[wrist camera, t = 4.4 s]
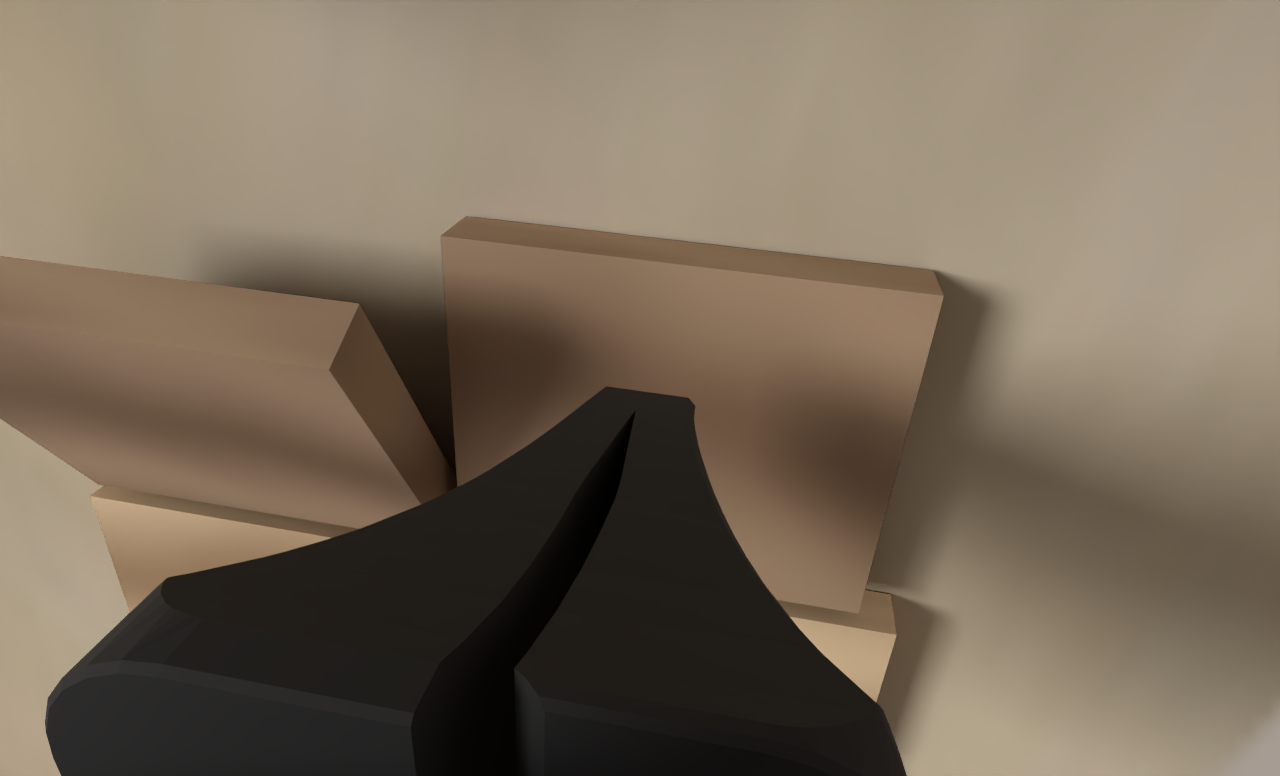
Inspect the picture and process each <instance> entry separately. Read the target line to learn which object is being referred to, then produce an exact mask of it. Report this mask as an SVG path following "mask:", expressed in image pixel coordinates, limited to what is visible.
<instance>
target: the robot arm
mask: <svg viewBox="0 0 1280 776" xmlns="http://www.w3.org/2000/svg"><path fill="white" fill-rule="evenodd" d="M694 415H695V405H694V404H693V402H692V401H691V400H690V399H689V398H688V397H680V396H673V395H666V394H659V393H651V392H644V391H637V390H630V389H622V388H615V387H608V386H606V387H605V388H603V389H602V390H601V391H599V392H598V393H597V394H595V395H594V396H592V397H591V398H590V399H589V400H587V401H586V402H585V403H583V404H582V405H581V406H580V407H578V408H577V409H576V410H574V411H573V412H572V413H571V414H569V415H568V416H567V417H565V418H564V419H563V420H562V421H560V422H559V423H558V424H556V425H555V426H554V427H552V428H551V429H549V430H548V431H547V432H545V433H544V434H543V435H541V436H540V437H538V438H537V439H536V440H534V441H533V442H532V443H530V444H529V445H527V446H526V447H524V448H523V449H521V450H519V451H518V452H516V453H515V454H513V455H512V456H510V457H509V458H507V459H505V460H504V461H502V462H501V463H499V464H498V465H496V466H494V467H493V468H491V469H490V470H488V471H486V472H484V473H483V474H481V475H479V476H477V477H476V478H474V479H472V480H470V481H468V482H466V483H465V484H463V485H461V486H459V487H457V488H455V489H453V490H450V491H448V492H446V493H444V494H442V495H440V496H438V497H436V498H434V499H432V500H430V501H428V502H425V503H423V504H421V505H419V506H416V507H413V508H411V509H408V510H406V511H403V512H401V513H398V514H396V515H393V516H391V517H388V518H386V519H383V520H381V521H378V522H376V523H373V524H371V525H368V526H366V527H363V528H360V529H357V530H354V531H351V532H348V533H345V534H342V535H339V536H336V537H333V538H330V539H327V540H324V541H320V542H317V543H313V544H310V545H306V546H303V547H299V548H296V549H292V550H289V551H285V552H282V553H278V554H274V555H270V556H266V557H262V558H258V559H253V560H248V561H244V562H239V563H235V564H230V565H225V566H221V567H216V568H212V569H207V570H202V571H198V572H193V573H189V574H183V575H178V576H172V577H167V578H166V579H165V580H164V581H163V582H162V583H161V584H160V585H158V586H157V587H156V588H155V589H154V590H153V591H152V592H151V593H150V594H149V595H148V596H147V597H146V598H145V599H144V600H143V601H142V602H141V603H139V604H138V605H137V606H136V607H135V608H134V609H133V610H132V611H131V612H130V613H129V614H128V615H127V616H126V617H125V618H124V619H123V620H122V621H121V622H120V623H119V624H118V625H117V626H116V627H115V628H114V629H113V630H111V631H110V632H109V633H108V634H107V635H106V636H105V637H104V638H103V639H102V640H101V641H100V642H99V643H98V644H97V645H96V646H95V647H94V648H93V649H92V650H91V651H90V652H89V653H88V654H87V655H86V656H84V657H83V658H82V659H81V660H80V661H79V662H78V663H77V664H76V665H75V666H74V667H73V668H72V669H71V670H70V671H69V672H68V673H67V674H66V675H65V676H64V677H63V678H62V679H61V680H60V682H59V683H58V684H57V686H56V687H55V689H54V690H53V692H52V693H51V694H50V696H49V697H48V702H47V711H46V719H45V726H46V734H47V737H48V741H49V744H50V748H51V751H52V755H53V758H54V760H55V763H56V765H57V767H58V769H59V771H60V774H61V776H907V775H906V772H905V769H904V766H903V763H902V760H901V756H900V753H899V751H898V748H897V745H896V742H895V740H894V737H893V734H892V731H891V729H890V726H889V723H888V721H887V718H886V716H885V713H884V711H883V710H882V708H881V707H880V706H879V705H878V704H877V703H876V702H875V701H874V700H873V699H872V698H870V697H869V696H868V695H867V694H866V693H865V692H864V691H863V690H862V689H861V688H859V687H858V686H857V685H856V684H855V683H854V682H853V681H852V680H851V679H850V678H848V677H847V676H846V675H845V674H844V673H843V672H842V671H841V670H840V669H839V668H837V667H836V666H835V665H834V664H833V663H832V662H831V661H830V660H829V659H828V658H826V657H825V656H824V655H823V654H822V653H821V652H820V651H819V650H818V649H817V648H816V646H815V645H814V644H813V643H812V642H811V641H810V640H809V639H808V638H807V637H806V636H805V635H804V633H803V632H802V631H801V630H800V629H799V628H798V627H797V625H796V624H795V623H794V621H793V620H792V619H791V618H790V616H789V615H788V614H787V612H786V611H785V610H784V609H783V607H782V606H781V605H780V603H779V602H778V601H777V600H776V598H775V597H774V596H773V595H772V593H771V592H770V591H769V589H768V588H767V587H766V586H765V584H764V583H763V581H762V580H761V578H760V577H759V575H758V574H757V572H756V570H755V569H754V567H753V566H752V564H751V563H750V561H749V560H748V558H747V557H746V555H745V553H744V551H743V550H742V548H741V546H740V544H739V543H738V541H737V539H736V538H735V536H734V534H733V532H732V530H731V528H730V526H729V524H728V522H727V520H726V518H725V516H724V514H723V512H722V509H721V507H720V505H719V502H718V500H717V498H716V496H715V493H714V491H713V488H712V486H711V483H710V480H709V478H708V475H707V471H706V468H705V465H704V462H703V459H702V456H701V453H700V449H699V445H698V440H697V436H696V431H695V423H694Z"/></svg>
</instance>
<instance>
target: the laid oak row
mask: <svg viewBox="0 0 1280 776" xmlns="http://www.w3.org/2000/svg"><path fill="white" fill-rule="evenodd" d="M90 498H91V501H92V504H93V506H94V509H95V512H96V515H97V518H98V521H99V524H100V527H101V530H102V533H103V535H104V538H105V541H106V544H107V547H108V550H109V553H110V556H111V559H112V562H113V565H114V567H115V570H116V573H117V576H118V579H119V582H120V585H121V588H122V591H123V594H124V596H125V599H126V602H127V605H128V608H129V611H130V612H131V611H132V610H133V609H134V608H135V607H136V606H137V605H138V604H139V603H141V602H142V601H143V600H144V599H145V598H146V597H147V596H148V595H149V594H150V593H151V592H152V591H153V590H154V589H155V588H156V587H157V586H158V585H160V584H161V583H162V582H163V581H164V580H165V579H166V578H167V577H172V576H178V575H183V574H189V573H193V572H198V571H202V570H207V569H212V568H216V567H221V566H225V565H230V564H235V563H239V562H244V561H248V560H253V559H258V558H262V557H266V556H270V555H274V554H278V553H282V552H285V551H289V550H292V549H296V548H299V547H303V546H306V545H310V544H313V543H317V542H320V541H324V540H327V539H330V538H333V537H336V536H339V535H342V534H345V533H348V532H351V531H354V530H357V528H352V527H346V526H340V525H334V524H328V523H322V522H316V521H310V520H304V519H299V518H293V517H287V516H281V515H275V514H269V513H263V512H257V511H252V510H246V509H240V508H234V507H228V506H222V505H216V504H210V503H204V502H199V501H193V500H187V499H181V498H175V497H169V496H163V495H157V494H152V493H146V492H140V491H134V490H128V489H122V488H116V487H110V486H103V487H101V488H100V489H99V490H97V491H96V492H95V493H93V494H92V495H91V496H90ZM777 601H778V602H779V603H780V605H781V606H782V607H783V609H784V610H785V611H786V612H787V614H788V615H789V616H790V618H791V619H792V620H793V621H794V623H795V624H796V625H797V627H798V628H799V629H800V630H801V631H802V632H803V633H804V635H805V636H806V637H807V638H808V639H809V640H810V641H811V642H812V643H813V644H814V645H815V646H816V648H817V649H818V650H819V651H820V652H821V653H822V654H823V655H824V656H825V657H826V658H828V659H829V660H830V661H831V662H832V663H833V664H834V665H835V666H836V667H837V668H839V669H840V670H841V671H842V672H843V673H844V674H845V675H846V676H847V677H848V678H850V679H851V680H852V681H853V682H854V683H855V684H856V685H857V686H858V687H859V688H861V689H862V690H863V691H864V692H865V693H866V694H867V695H868V696H869V697H870V698H872V699H873V700H874V701H875V702H877V698H878V695H879V692H880V689H881V685H882V682H883V679H884V675H885V672H886V669H887V666H888V662H889V659H890V656H891V652H892V649H893V646H894V643H895V639H896V636H897V633H896V627H895V620H894V613H893V606H892V599H891V594H885V593H879V592H873V591H867V590H865V591H864V595H863V599H862V603H861V606H860V610H859V614H858V613H852V612H846V611H840V610H834V609H828V608H822V607H816V606H810V605H805V604H799V603H793V602H787V601H781V600H777Z"/></svg>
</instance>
